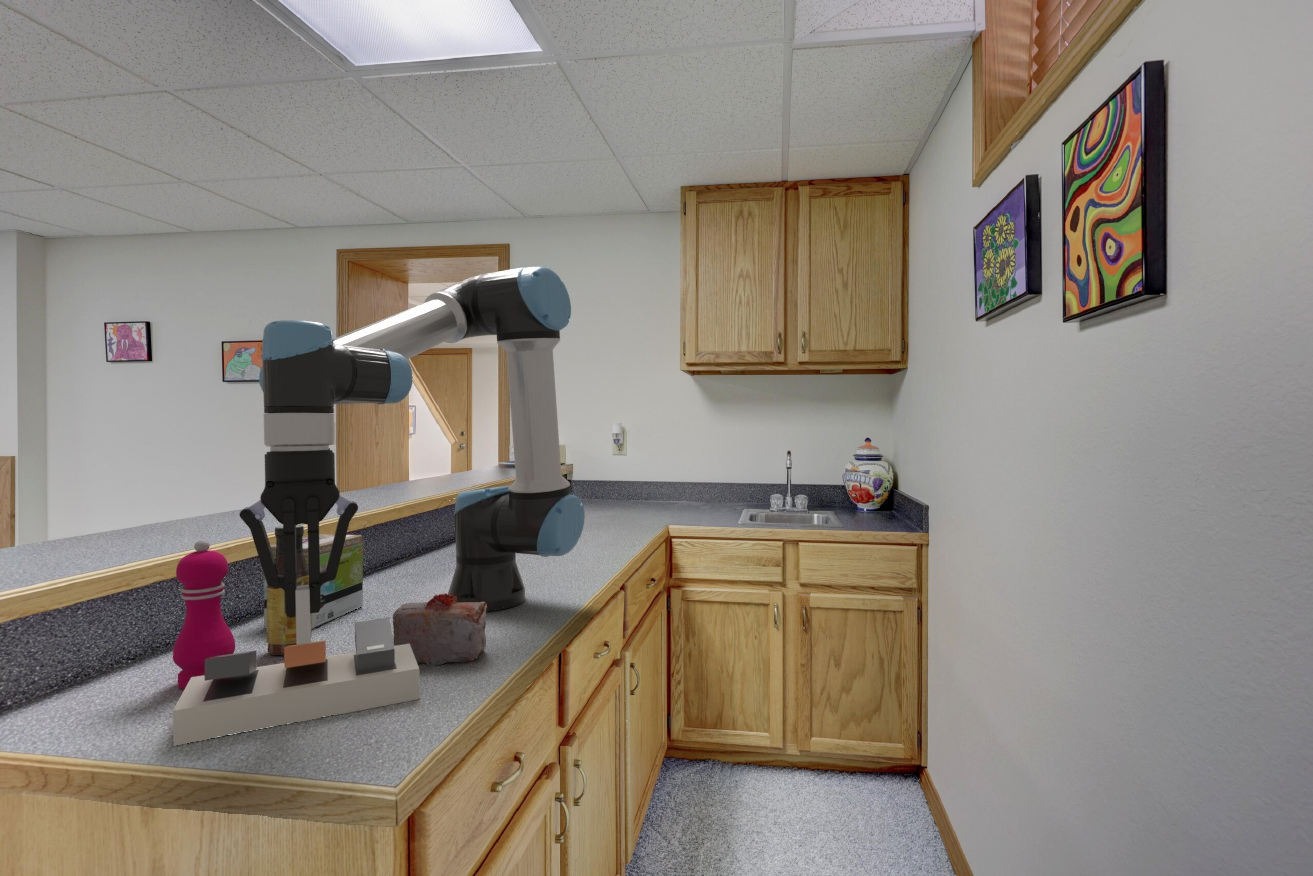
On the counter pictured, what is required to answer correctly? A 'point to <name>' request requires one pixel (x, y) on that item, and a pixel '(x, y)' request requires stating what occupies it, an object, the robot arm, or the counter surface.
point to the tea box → (344, 588)
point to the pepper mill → (201, 612)
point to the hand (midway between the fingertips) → (303, 640)
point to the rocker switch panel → (291, 695)
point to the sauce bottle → (278, 622)
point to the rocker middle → (305, 654)
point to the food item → (441, 629)
